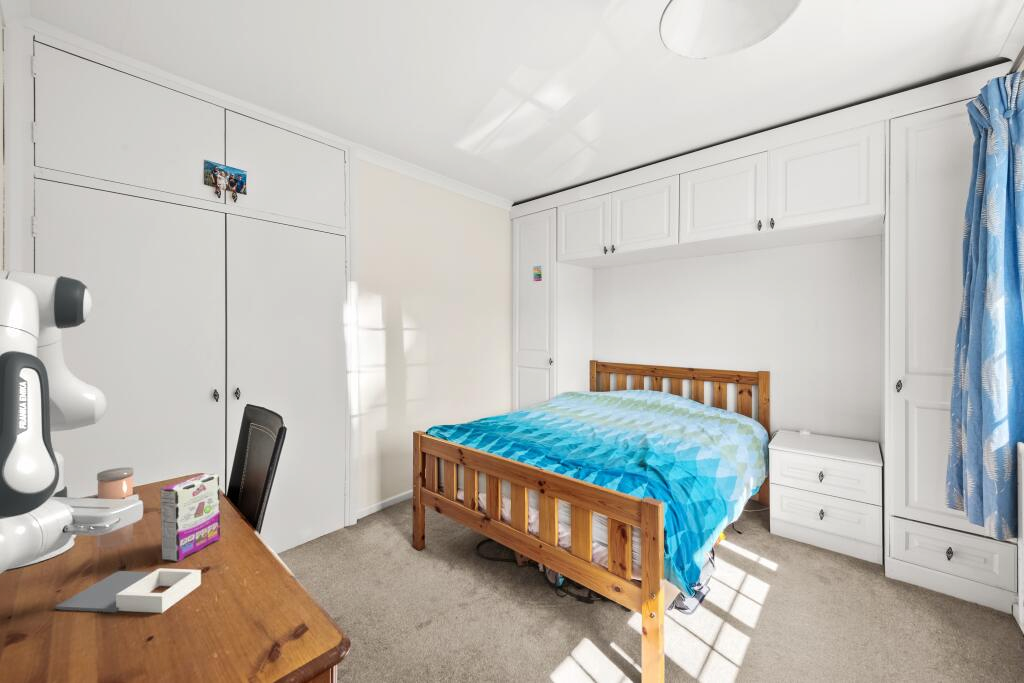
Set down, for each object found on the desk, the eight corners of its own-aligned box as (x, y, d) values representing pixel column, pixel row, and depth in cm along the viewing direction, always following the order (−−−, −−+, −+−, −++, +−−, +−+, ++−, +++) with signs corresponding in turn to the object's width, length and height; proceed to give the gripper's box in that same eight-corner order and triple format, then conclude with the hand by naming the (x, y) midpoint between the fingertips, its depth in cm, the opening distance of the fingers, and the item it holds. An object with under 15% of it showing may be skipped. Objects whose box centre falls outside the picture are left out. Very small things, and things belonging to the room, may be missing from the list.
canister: (89, 548, 81) (89, 475, 81) (116, 535, 86) (116, 467, 86) (115, 549, 81) (114, 476, 81) (140, 536, 86) (140, 467, 86)
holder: (116, 610, 79) (116, 594, 79) (159, 582, 88) (159, 568, 88) (162, 612, 78) (162, 596, 78) (200, 584, 87) (200, 569, 87)
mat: (55, 609, 79) (55, 606, 79) (118, 573, 91) (118, 570, 91) (115, 612, 78) (116, 609, 78) (171, 575, 90) (171, 573, 90)
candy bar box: (204, 537, 108) (204, 472, 107) (220, 539, 107) (220, 474, 106) (159, 560, 97) (159, 488, 96) (177, 562, 96) (177, 490, 95)
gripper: (97, 512, 70) (169, 483, 84) (-18, 508, 71) (72, 480, 85) (97, 550, 70) (169, 515, 84) (-18, 545, 71) (72, 511, 85)
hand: (120, 497), depth 84 cm, fingers closed on canister, 5 cm apart
